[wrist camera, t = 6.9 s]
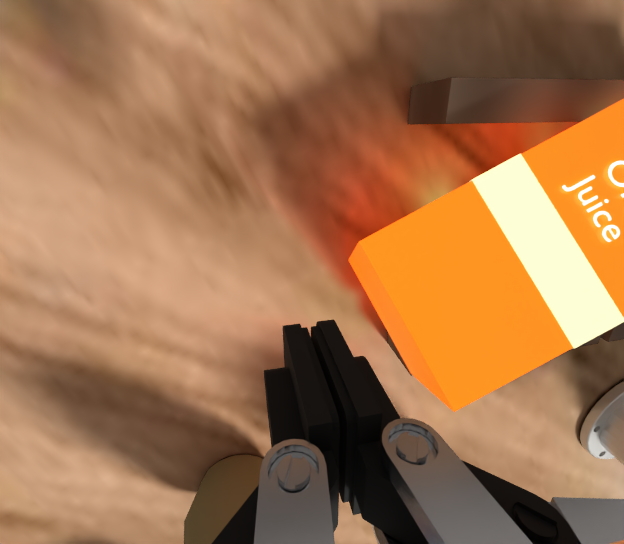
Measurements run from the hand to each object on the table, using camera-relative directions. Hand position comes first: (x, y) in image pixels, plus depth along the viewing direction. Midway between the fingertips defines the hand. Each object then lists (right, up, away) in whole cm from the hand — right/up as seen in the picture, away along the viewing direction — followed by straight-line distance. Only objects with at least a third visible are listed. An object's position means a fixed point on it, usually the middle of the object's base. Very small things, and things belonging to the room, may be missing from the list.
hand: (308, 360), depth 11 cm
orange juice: (+4, 0, +8) cm, 9 cm away
